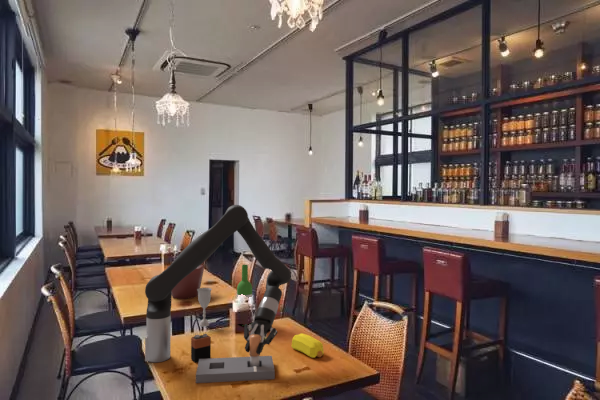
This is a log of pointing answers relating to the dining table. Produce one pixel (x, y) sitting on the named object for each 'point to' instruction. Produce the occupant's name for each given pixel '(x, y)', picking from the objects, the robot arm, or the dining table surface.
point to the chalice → (204, 303)
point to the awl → (254, 350)
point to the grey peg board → (234, 369)
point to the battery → (200, 347)
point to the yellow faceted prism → (307, 345)
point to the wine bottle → (244, 283)
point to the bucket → (189, 284)
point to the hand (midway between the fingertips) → (252, 352)
